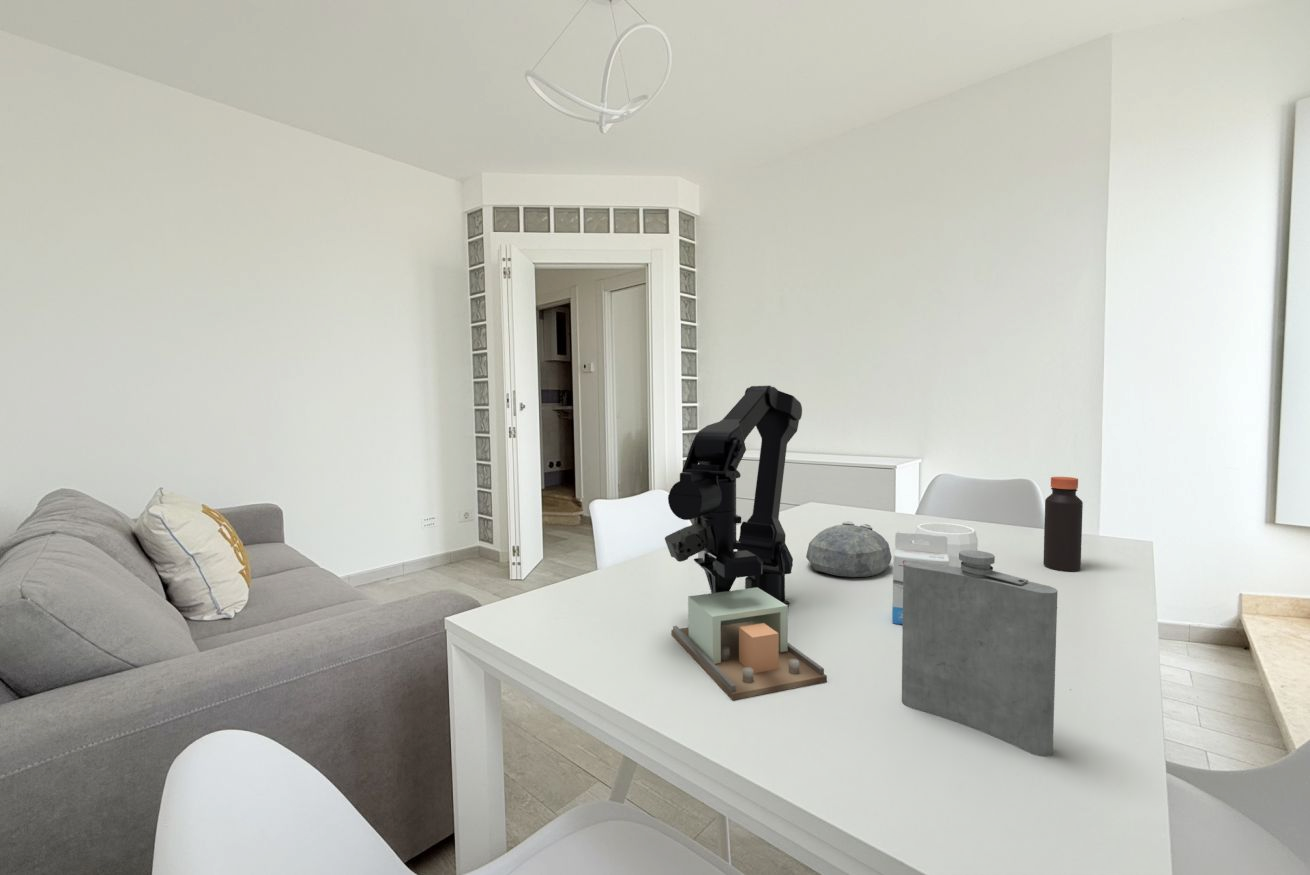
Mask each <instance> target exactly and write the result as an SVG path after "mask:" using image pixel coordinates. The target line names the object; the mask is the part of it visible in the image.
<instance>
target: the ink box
mask: <svg viewBox="0 0 1310 875" xmlns="http://www.w3.org/2000/svg"><path fill="white" fill-rule="evenodd" d="M919 539H923V540H924V541H929V542H930V544H929V545H926V544H915V543H914V542H913V541H914V540H919ZM894 543H895V544H894V545H895V549H894V550H893V563H892V564H893V565H892V566H893V567H892V568H893V570H892V572H893V573H892V606H891V608H892V611H891V612H892V613H891V615H892V617H891V618H892V620H891V621H892V622H891V623H892V624H896V625H902V626H903V563H904V562H906V561H920V562H928V563H934V564H941V565H947V566H949V556H948V554H947V537H946V536H940V535H930V534H918V533H915V532H903V531H902V532H900V531H898V532H896V533H895V542H894Z"/></svg>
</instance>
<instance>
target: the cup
mask: <svg viewBox="0 0 1310 875" xmlns="http://www.w3.org/2000/svg"><path fill="white" fill-rule="evenodd" d="M914 533H918V534H930V535H940V536H946V537H947V554H948V556H949V566H954V567H960V568H961V562H963V561H961V560H959V552H960V551H964V550H975V551H978V545H979V544H978V543H979V542H978V541H979V540H978V537H977V533H976V530H975V528H973V527H970V526H967V525H962V524H957V523H949V522H924V523H920V524H918V525H917V526H916V529H915V532H914ZM913 541H914V542H913V543H915V544H926V545H929V544H930V542H929V541H924V540H923V539H919V540H913Z"/></svg>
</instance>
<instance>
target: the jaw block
mask: <svg viewBox="0 0 1310 875" xmlns="http://www.w3.org/2000/svg"><path fill="white" fill-rule="evenodd" d="M739 662H740V663H742V664H743V665H744V666H745V667H750V668H752V669H753V673H759V672H764V671H769V670H774V669H779V633H777V632H776V631H775V630H773V629H772V628H770V627H769V626H767V625H766V624H765V623H760V624H754V625H747V626H741V627H739Z"/></svg>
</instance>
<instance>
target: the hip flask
mask: <svg viewBox="0 0 1310 875" xmlns="http://www.w3.org/2000/svg"><path fill="white" fill-rule="evenodd" d="M995 558H996V557H995V555H994V554H993V553H990V552H987V551H983V550H977V551H975V550H964V551H960V552H959V560H961V561H963V562H961V568H960V567H954V566H947V565H941V564H934V563H928V562H920V561H906V562H904V563H903V625H902V638H901V639H902V642H901V643H902V644H901V645H902V646H901V649H902V651H901V652H902V653H901V654H902V655H901V703H902V704H903V705H904V706H906V707H908V708H910V709H913V710H916V711H917V710H918V711H920V712H924V713H927V714H930V715H934V716H937V717H941V718H943V719H947V720H948V721H949V720H950V721H951V722H954V723H958V724H960V725H963V726H966V727H969V728H971V729H974V730H976V731H979V732H982V733H983V734H987V735H990V736H991V737H993V738H996V739H999V740H1001V741H1003V742H1006V743H1008V744H1011V745H1012V746H1015V747H1016V748H1018V749H1021V750H1023V751H1024V752H1027V753H1029V754H1031V755H1035V756H1039V757H1048V756H1051V755H1052V754H1053V752H1054V725H1055V724H1054V721H1055V695H1056V694H1055V689H1056V688H1055V687H1056V683H1055V682H1056V655H1057V654H1056V653H1057V626H1058V625H1057V622H1058V620H1057V619H1058V589H1057V588H1055V587H1053V586H1050V585H1046V584H1041V583H1038V582H1034V581H1029V580H1028V579H1025V578H1022V577H1018V576H1015V575H1011V574H1006V573H1003V572H999V571H997V570H994V567H993V566H992V565H993V564H995V562H996V561H995Z"/></svg>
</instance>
